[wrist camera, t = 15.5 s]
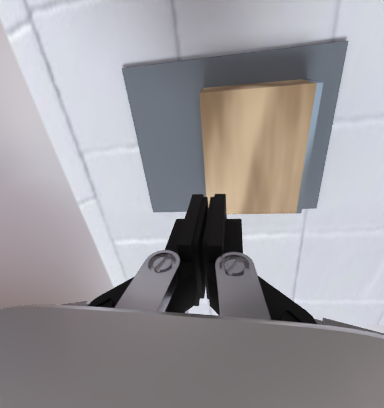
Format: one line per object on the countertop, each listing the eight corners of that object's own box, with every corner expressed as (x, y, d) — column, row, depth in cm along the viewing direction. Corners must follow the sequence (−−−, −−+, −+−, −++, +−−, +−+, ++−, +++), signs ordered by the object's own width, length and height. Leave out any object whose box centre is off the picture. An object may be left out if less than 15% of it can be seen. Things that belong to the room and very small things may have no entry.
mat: (345, 41, 17) (348, 40, 17) (314, 206, 24) (316, 208, 24) (123, 68, 20) (121, 68, 19) (154, 210, 27) (153, 212, 26)
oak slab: (203, 87, 19) (306, 78, 18) (209, 194, 25) (291, 193, 23) (199, 93, 16) (323, 82, 15) (207, 214, 21) (301, 213, 20)
